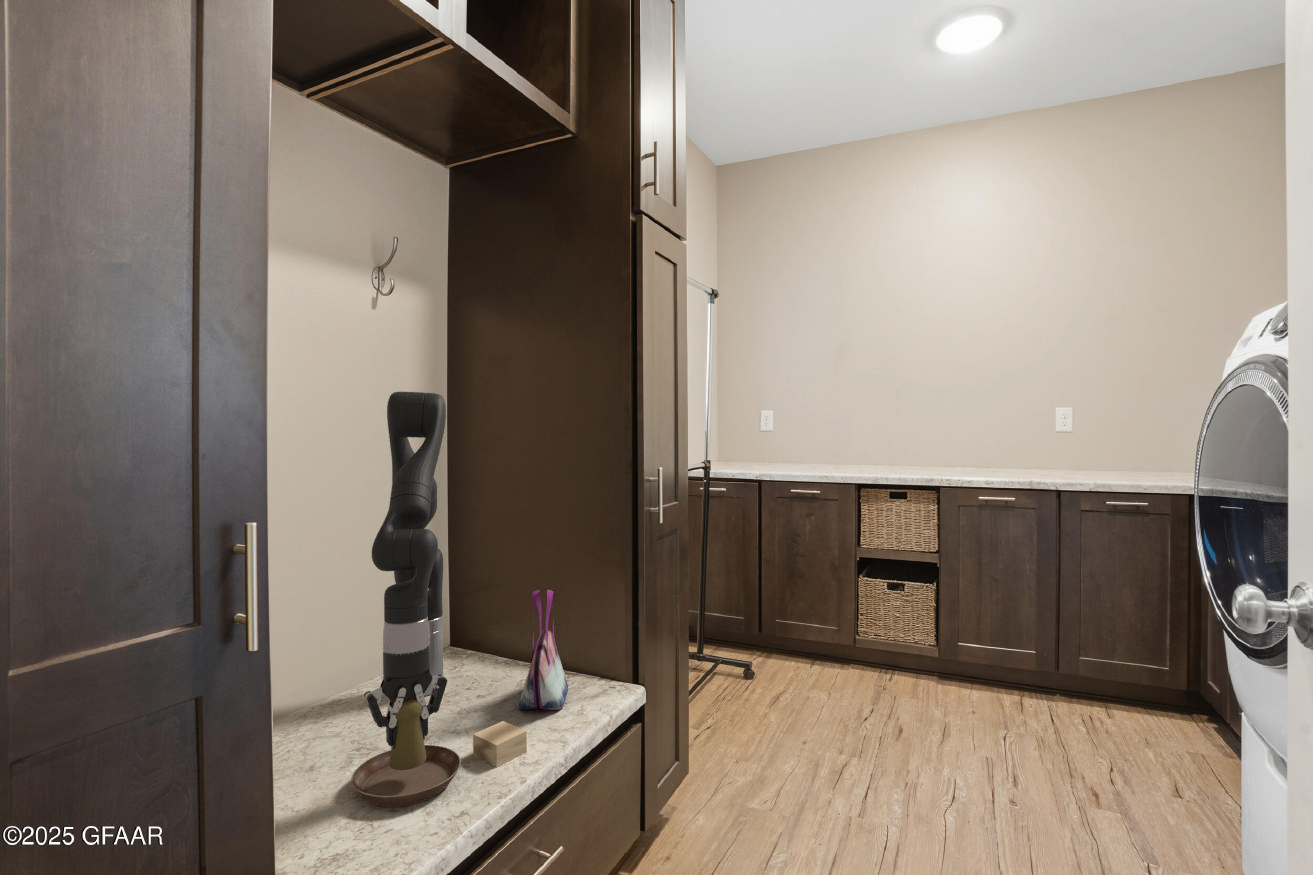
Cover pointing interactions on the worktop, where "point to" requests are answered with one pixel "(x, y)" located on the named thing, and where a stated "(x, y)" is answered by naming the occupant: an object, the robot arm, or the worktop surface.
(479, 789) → the worktop surface
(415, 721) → the olive green pawn
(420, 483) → the robot arm
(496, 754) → the oak base block
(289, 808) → the worktop surface
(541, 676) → the handbag
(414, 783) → the plant saucer
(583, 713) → the worktop surface
